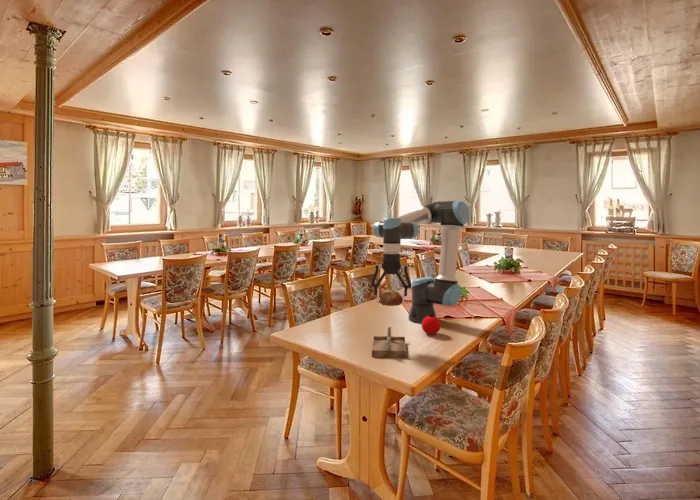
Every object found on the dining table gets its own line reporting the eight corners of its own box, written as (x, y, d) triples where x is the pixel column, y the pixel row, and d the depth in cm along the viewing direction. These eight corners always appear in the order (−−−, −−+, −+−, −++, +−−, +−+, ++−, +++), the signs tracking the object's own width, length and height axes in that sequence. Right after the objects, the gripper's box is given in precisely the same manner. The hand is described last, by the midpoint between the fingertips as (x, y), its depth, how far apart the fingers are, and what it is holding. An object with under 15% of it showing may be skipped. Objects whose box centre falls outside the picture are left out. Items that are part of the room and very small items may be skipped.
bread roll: (381, 308, 175) (374, 293, 174) (402, 299, 175) (395, 283, 174) (384, 314, 165) (377, 297, 164) (406, 304, 165) (398, 287, 164)
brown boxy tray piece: (404, 342, 173) (404, 326, 173) (406, 357, 156) (406, 339, 155) (373, 341, 175) (373, 325, 174) (371, 356, 157) (371, 338, 156)
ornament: (439, 338, 179) (439, 317, 178) (419, 336, 182) (420, 315, 181) (441, 332, 188) (441, 312, 187) (423, 330, 191) (423, 310, 190)
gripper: (417, 252, 170) (416, 302, 172) (366, 251, 173) (365, 300, 174) (418, 254, 162) (417, 305, 164) (364, 253, 165) (364, 303, 167)
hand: (390, 302), depth 169 cm, fingers closed on bread roll, 10 cm apart
